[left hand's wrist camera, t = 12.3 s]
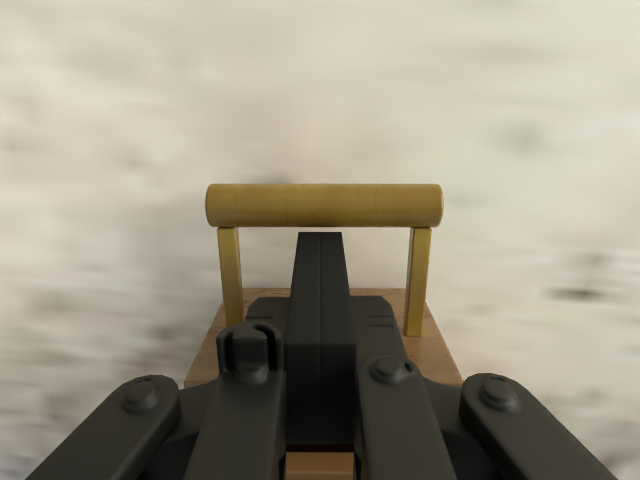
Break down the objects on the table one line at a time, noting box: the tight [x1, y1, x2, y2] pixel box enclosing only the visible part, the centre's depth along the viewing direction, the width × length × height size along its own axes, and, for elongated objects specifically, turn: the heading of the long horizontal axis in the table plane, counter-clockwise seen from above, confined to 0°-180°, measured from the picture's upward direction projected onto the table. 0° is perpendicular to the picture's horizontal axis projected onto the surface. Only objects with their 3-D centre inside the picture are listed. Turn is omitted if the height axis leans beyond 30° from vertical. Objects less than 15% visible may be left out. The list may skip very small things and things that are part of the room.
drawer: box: [184, 184, 464, 453], centre depth 18 cm, size 25×9×6 cm, turn 0°
